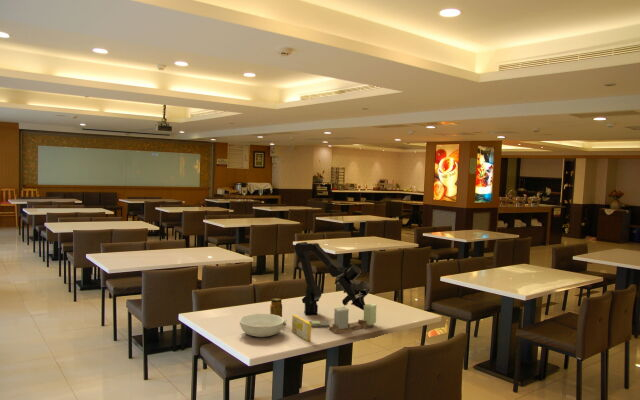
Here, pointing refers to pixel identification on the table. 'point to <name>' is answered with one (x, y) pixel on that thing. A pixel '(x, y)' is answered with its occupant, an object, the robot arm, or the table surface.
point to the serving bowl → (261, 324)
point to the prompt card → (319, 324)
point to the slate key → (341, 317)
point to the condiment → (276, 307)
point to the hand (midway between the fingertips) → (366, 310)
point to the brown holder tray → (349, 326)
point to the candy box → (301, 327)
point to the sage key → (370, 313)
